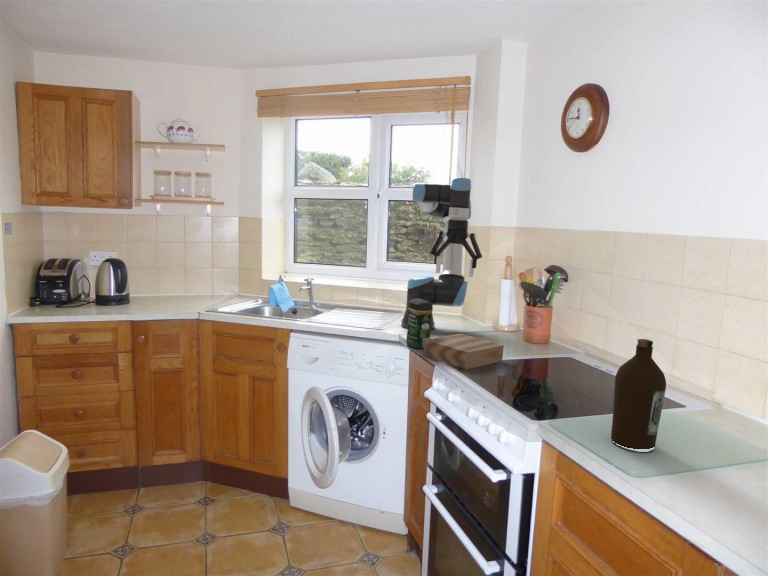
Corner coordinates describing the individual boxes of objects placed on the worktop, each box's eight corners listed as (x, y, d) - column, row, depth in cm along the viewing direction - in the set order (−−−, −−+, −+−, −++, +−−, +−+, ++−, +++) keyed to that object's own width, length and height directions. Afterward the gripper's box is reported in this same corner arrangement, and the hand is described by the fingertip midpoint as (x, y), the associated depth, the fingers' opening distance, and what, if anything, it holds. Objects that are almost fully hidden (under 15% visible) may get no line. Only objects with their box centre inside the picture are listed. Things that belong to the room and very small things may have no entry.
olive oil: (601, 443, 124) (613, 339, 120) (616, 431, 132) (627, 332, 128) (650, 459, 117) (665, 348, 113) (662, 444, 125) (676, 341, 122)
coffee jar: (402, 344, 208) (405, 297, 206) (419, 342, 212) (422, 296, 209) (415, 350, 200) (418, 301, 197) (433, 348, 204) (436, 301, 201)
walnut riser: (423, 355, 193) (424, 339, 192) (459, 348, 206) (460, 333, 205) (466, 369, 178) (467, 352, 177) (502, 361, 191) (503, 345, 190)
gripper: (424, 217, 204) (420, 272, 207) (487, 221, 192) (482, 279, 195) (432, 217, 210) (428, 270, 214) (493, 221, 199) (488, 277, 202)
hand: (454, 274), depth 204 cm, fingers open, 13 cm apart
